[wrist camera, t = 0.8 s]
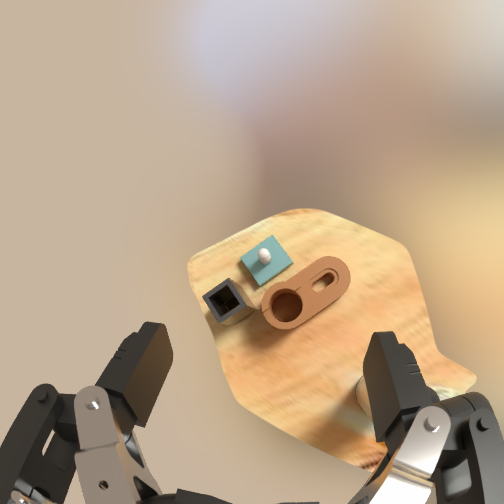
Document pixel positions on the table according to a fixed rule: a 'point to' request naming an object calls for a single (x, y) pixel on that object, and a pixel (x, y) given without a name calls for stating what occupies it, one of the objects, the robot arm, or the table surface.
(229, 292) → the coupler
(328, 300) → the bracket
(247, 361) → the table surface
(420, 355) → the table surface
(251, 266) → the shaft mount
